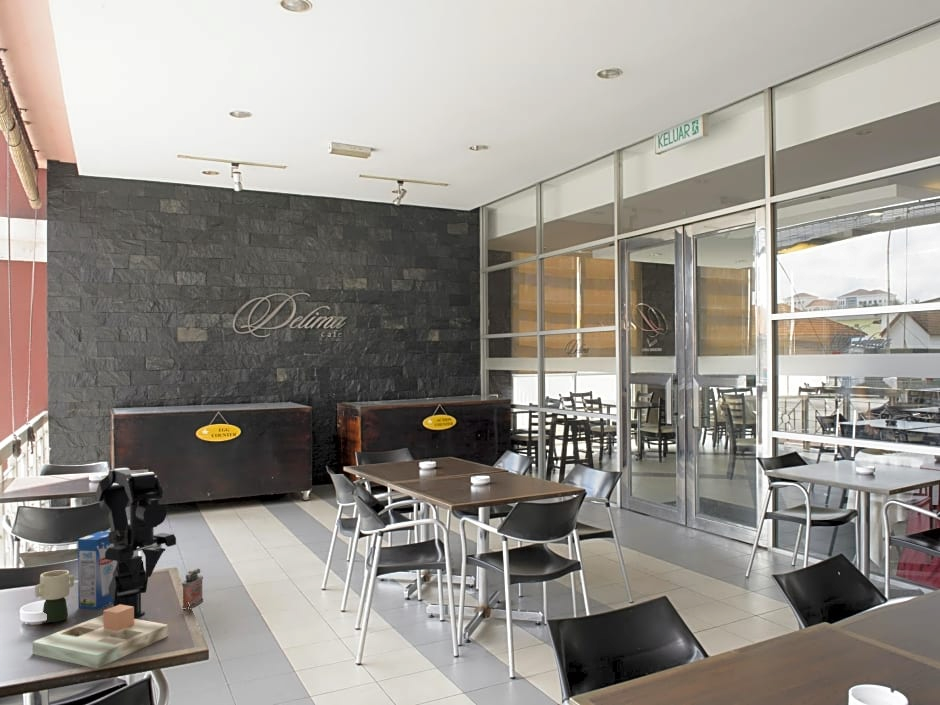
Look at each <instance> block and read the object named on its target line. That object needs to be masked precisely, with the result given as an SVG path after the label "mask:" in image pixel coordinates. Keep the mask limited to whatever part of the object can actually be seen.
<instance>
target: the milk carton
mask: <svg viewBox="0 0 940 705" xmlns="http://www.w3.org/2000/svg"><path fill="white" fill-rule="evenodd" d="M109 532H111V531H109V530H108V531H106V530H105V531H104V530H100V531H98V532H97V531H96V532H94V533H92V534H89V535H86V536H83V537H80V538H78V539H77V554H78V555H77V569H78V570H77V571H78V572H77V577H78V578H77V579H78V580H77V583H78V585H77V586H78V588H77V590H78V594H77V595H78V599H77V600H78V601H77V602H78V606H77V607H78V608H77V609H79V610H80V609H81V610H95V611H96V610H97V611H98V610H101V609H102V608H103V606H104V607H106V606H108V605H110V604H111V603H110V602H112V603H114V602H113V601H114V599H113V598H112V597H111V596H109V585H110V583H111V580H112V578H113V572H114V570H115V567H116V565H117V561H115V560H107V559H105V551H106V550H107V549H108V548H110V547H114V544H110V543H109V539H108V538H109ZM109 603H110V604H109ZM107 604H108V605H107ZM105 605H106V606H105Z"/></svg>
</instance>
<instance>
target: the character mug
mask: <svg viewBox="0 0 940 705" xmlns="http://www.w3.org/2000/svg"><path fill="white" fill-rule="evenodd" d="M39 576H40V577H39V584H37V585H35V586H34V596H35V598H40V599H42V600H45V601H44V603H43V608H42V613H43V612H44V613H46V614H47V620H46V623H47V622H48V623H49V622H51V623H55V622H62V621H64V620H66V619H67V618H68V617H69V613H68V606H67V600H66V598H65V597H67V596H69V595H70V588H73V587H74V585H75V584H74V583H75V577H74V575H73V574H70V570H67V569H58V570H51V571H46V572H45V571H44V572H43V573H41V574H40V575H39Z"/></svg>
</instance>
